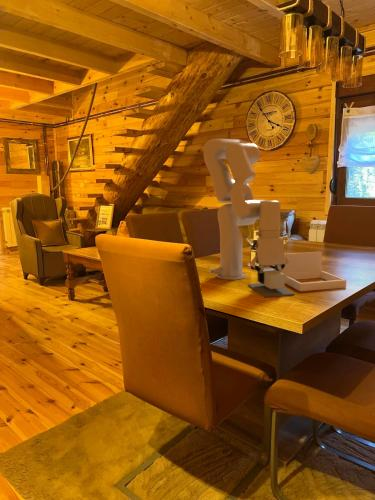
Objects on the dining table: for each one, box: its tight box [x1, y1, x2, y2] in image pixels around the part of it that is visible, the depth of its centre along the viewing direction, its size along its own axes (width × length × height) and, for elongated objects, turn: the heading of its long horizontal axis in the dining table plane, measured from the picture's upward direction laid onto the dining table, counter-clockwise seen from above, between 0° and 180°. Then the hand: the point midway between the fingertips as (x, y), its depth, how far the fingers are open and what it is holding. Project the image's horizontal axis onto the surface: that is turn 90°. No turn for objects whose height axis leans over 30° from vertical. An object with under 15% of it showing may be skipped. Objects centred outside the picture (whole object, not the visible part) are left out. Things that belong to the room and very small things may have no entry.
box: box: [256, 267, 286, 289], centre depth 138 cm, size 6×12×5 cm, turn 11°
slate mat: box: [247, 282, 295, 298], centre depth 139 cm, size 11×17×1 cm, turn 11°
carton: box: [281, 251, 347, 292], centre depth 146 cm, size 19×18×11 cm
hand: (269, 281), depth 140 cm, fingers closed on box, 5 cm apart
